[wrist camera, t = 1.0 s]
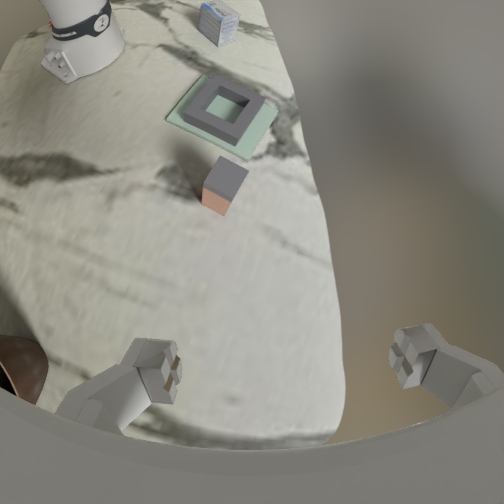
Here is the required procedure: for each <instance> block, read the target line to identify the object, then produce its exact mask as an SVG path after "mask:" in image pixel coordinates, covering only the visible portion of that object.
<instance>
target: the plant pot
mask: <svg viewBox="0 0 504 504" xmlns="http://www.w3.org/2000/svg"><path fill="white" fill-rule="evenodd" d="M48 367H49V366H48V360H47V357H46V355H45V353H44V351H43V349H42V348H41V347H40V346H39V345H38V344H37V343H36V342H34V341H32V340H28V339H24V338H19V337H13V336H4V335H0V387H1V388H2V389H4V390H6V391H8V392H9V393H11V394H13V395H15V396H17V397H19V398H21V399H23V400H25V401H27V402H29V403H31V404H33V405H36V403H37V400H38V398H39V396H40V394H41V391H42V389H43V386H44V383H45V380H46V377H47V373H48Z"/></svg>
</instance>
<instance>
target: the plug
mask: <svg viewBox="0 0 504 504" xmlns="http://www.w3.org/2000/svg"><path fill="white" fill-rule="evenodd" d="M248 172H249V171H248V170H246V169H244V168H243V167H241V166H239V165H237V164H235V163H233V162H231V161H229V160H228V159H226V158H224V157H222V156H220V157H219V158H218V160H217V161H216V163H215V164H214V166H213V168H212V169H211V171H210V173H209V174H208V176H207V177H206V179H205V181H204V182H203V193H202V205H204V206H206V207H208V208H210V209H212V210H214V211H215V212H217V213H219V214H221V215H223V216H224V215H225V214H226V212H227V210H228V208H229V206H230V204H231V203H232V201H233V199H234V197H235V196H236V194H237V192H238V190H239V188H240V186H241V185H242V183H243V181H244V179H245V177H246V176H247V174H248Z"/></svg>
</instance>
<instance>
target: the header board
mask: <svg viewBox="0 0 504 504" xmlns="http://www.w3.org/2000/svg"><path fill="white" fill-rule="evenodd" d="M265 99H266V98H265V97H263V96H261V95H259V94H257V93H255V92H253V91H251V90H249V89H247V88H245V87H243V86H241V85H239V84H237V83H234V82H232V81H230V80H228V79H226V78H223V77H221V76H219V75H216V74H215V75H214V76H213V77H212V78H209V77H207V76H205V75H203V76H202V77H201V78H200V79H199V80H198V81H197V82H196V83H195V85H194V86H193V87H192V88H191V89H190V90H189V91H188V93H187V94H186V95H185V96H184V97H183V99H182V100H181V101H180V102H179V103H178V105H177V106H176V107H175V108H174V110H173V111H172V112H171V113H170V115H169V116H168V117H167V119H166V122H169V123H171V124H173V125H175V126H177V127H179V128H182V129H184V130H186V131H188V132H190V133H192V134H194V135H196V136H198V137H200V138H202V139H204V140H206V141H208V142H210V143H212V144H214V145H216V146H218V147H220V148H222V149H224V150H226V151H228V152H230V153H232V154H234V155H236V156H237V157H239V158H241V159H243V160H245V161H247V162H248V161H249V159H250V157H251V156H252V154H253V152H254V151H255V149H256V147H257V146H258V144H259V142H260V141H261V139H262V137H263V136H264V134H265V133H266V131H267V129H268V128H269V126H270V125H271V123H272V121H273V120H274V118H275V117H276V115H277V113H278V112H279V111H278V110H276V109H274V108H272V107H270V106H268V105H266V104H264V101H265Z"/></svg>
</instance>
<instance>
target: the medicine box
mask: <svg viewBox="0 0 504 504" xmlns="http://www.w3.org/2000/svg"><path fill="white" fill-rule="evenodd" d="M239 18H240V14H239V13H238V12H236V11H235V10H233V9H232V8H231V7H229V6H228V5H226V4H225V3H223V2H222V1H220V0H213V1H209V2H206V3H203V4H201V8H200V19H199V31H200V32H201V33H202V34H204V35H205V36H206V37H207V38H209V39H210V40H211V41H212V42H213V43H215V44H216V45H217V46H218V47H220V46H222V45H225V44H228V43H230V42H233V41H235V36H236V31H237V27H238V23H239Z"/></svg>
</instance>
